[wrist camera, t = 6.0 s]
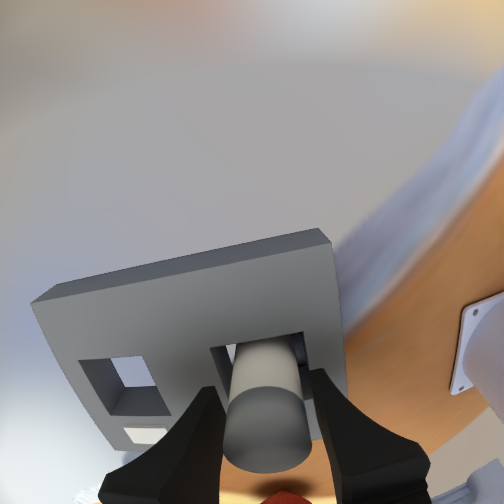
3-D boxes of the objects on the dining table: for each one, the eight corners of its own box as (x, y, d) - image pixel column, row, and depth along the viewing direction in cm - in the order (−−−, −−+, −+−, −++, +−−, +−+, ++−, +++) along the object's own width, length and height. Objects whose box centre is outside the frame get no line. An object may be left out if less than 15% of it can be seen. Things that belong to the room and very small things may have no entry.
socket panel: (318, 227, 15) (333, 244, 12) (339, 401, 18) (349, 435, 15) (56, 284, 16) (27, 305, 13) (126, 423, 20) (113, 453, 16)
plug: (287, 314, 17) (307, 414, 9) (296, 362, 17) (315, 466, 10) (230, 324, 17) (211, 426, 9) (243, 370, 18) (234, 476, 10)
